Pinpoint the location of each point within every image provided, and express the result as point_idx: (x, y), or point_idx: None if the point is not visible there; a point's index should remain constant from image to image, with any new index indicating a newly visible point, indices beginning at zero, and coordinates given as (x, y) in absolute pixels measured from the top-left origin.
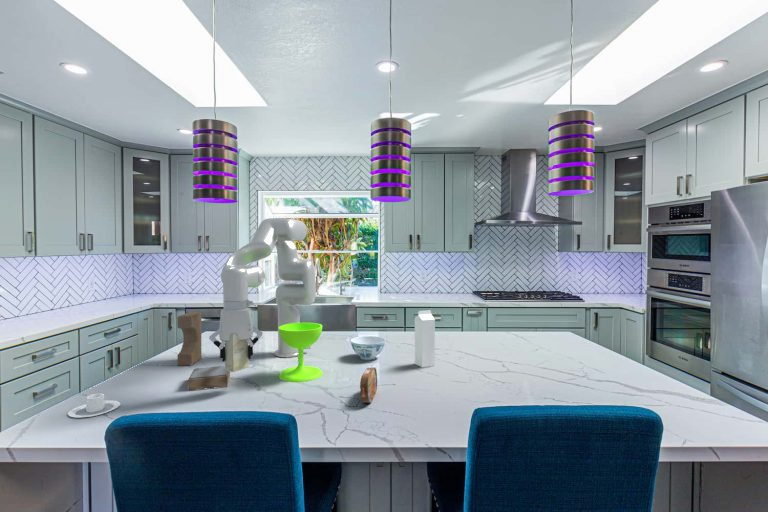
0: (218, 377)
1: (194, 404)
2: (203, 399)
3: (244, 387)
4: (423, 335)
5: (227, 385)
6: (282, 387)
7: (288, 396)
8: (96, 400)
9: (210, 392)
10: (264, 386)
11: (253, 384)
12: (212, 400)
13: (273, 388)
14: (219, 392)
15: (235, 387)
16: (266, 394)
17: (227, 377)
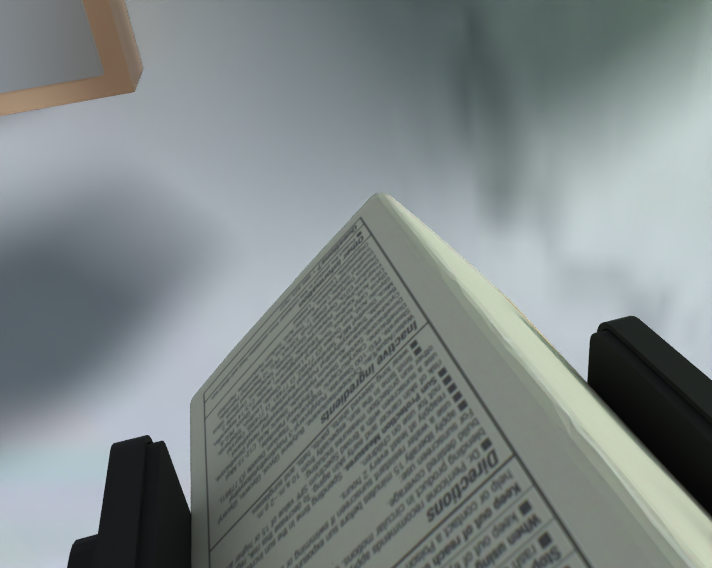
0: (4, 111)
1: (8, 496)
2: (33, 404)
3: (353, 119)
4: None
5: (138, 55)
6: (698, 167)
7: (702, 362)
8: None
9: (10, 235)
10: (550, 116)
11: (437, 29)
12: (135, 424)
13: (624, 184)
14: (119, 243)
15: (251, 105)
16: (561, 318)
17: (129, 64)
